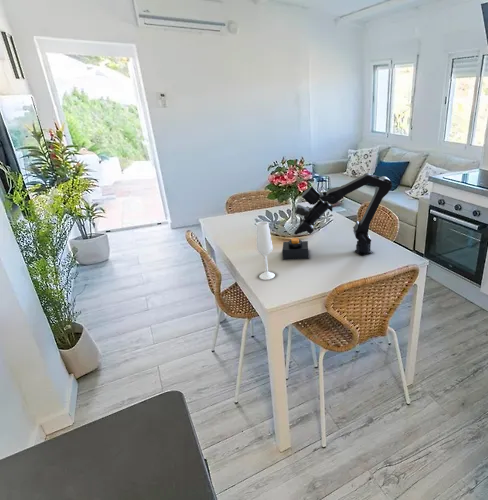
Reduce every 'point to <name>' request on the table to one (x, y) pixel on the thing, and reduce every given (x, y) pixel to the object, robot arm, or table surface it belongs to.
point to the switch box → (295, 250)
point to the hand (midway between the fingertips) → (294, 233)
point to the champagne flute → (264, 246)
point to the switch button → (295, 240)
